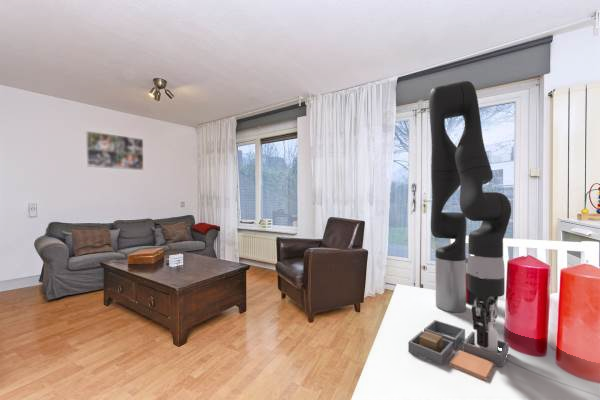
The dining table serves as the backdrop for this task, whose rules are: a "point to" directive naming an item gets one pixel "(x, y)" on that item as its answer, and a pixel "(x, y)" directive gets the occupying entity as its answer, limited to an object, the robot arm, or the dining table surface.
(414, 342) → the bin with cube
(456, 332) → the empty bin
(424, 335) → the walnut cube
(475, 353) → the shaker bin
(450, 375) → the dining table surface
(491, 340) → the salt shaker
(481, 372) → the terracotta pad
